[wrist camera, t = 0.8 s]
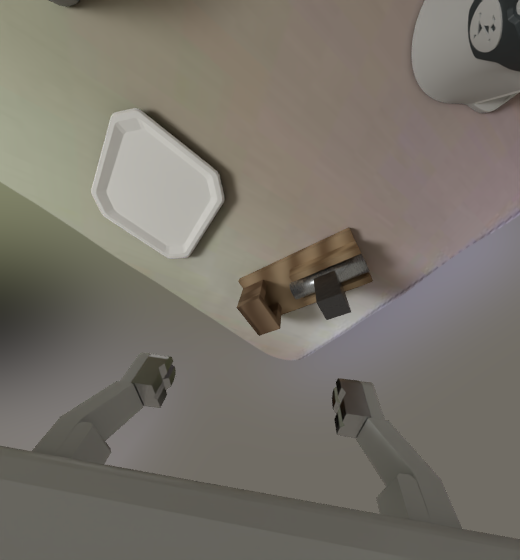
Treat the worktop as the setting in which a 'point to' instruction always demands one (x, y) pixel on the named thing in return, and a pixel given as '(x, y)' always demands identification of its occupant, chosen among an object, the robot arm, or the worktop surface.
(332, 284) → the grey mallet
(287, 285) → the cradle
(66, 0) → the coffee cup
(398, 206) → the worktop surface
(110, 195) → the plate
